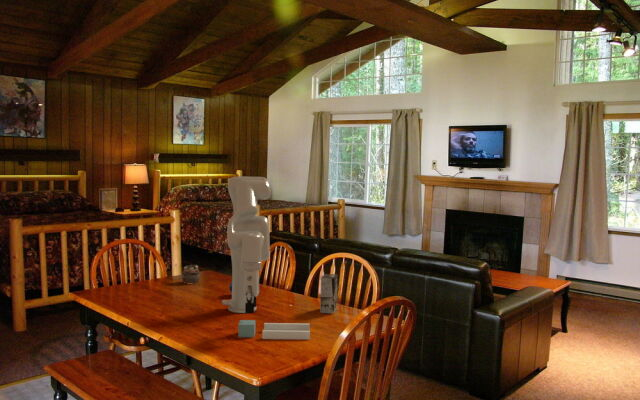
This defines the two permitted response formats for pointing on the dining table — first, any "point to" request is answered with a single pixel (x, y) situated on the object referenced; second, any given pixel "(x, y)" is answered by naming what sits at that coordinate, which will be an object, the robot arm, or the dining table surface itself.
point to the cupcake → (190, 274)
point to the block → (246, 328)
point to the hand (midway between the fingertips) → (250, 309)
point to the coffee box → (328, 293)
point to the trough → (286, 331)
